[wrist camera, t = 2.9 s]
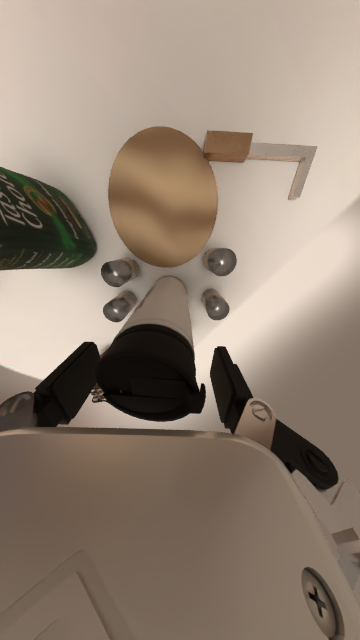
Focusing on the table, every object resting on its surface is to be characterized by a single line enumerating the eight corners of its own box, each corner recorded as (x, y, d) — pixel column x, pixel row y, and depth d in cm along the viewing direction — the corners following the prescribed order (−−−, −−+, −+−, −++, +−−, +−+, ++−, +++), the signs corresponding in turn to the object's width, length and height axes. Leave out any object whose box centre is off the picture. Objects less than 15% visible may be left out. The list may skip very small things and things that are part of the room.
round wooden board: (97, 125, 16) (95, 122, 15) (226, 133, 16) (227, 130, 15) (119, 265, 23) (118, 265, 22) (208, 268, 23) (209, 269, 22)
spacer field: (109, 243, 21) (85, 242, 16) (227, 248, 21) (243, 249, 16) (124, 328, 29) (112, 347, 23) (212, 331, 29) (219, 350, 24)
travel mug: (187, 309, 26) (200, 433, 9) (153, 308, 26) (97, 430, 9) (189, 276, 23) (216, 363, 6) (151, 274, 23) (61, 358, 6)
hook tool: (200, 194, 18) (202, 190, 17) (204, 140, 16) (207, 130, 15) (294, 199, 19) (303, 195, 17) (312, 147, 16) (324, 137, 15)
